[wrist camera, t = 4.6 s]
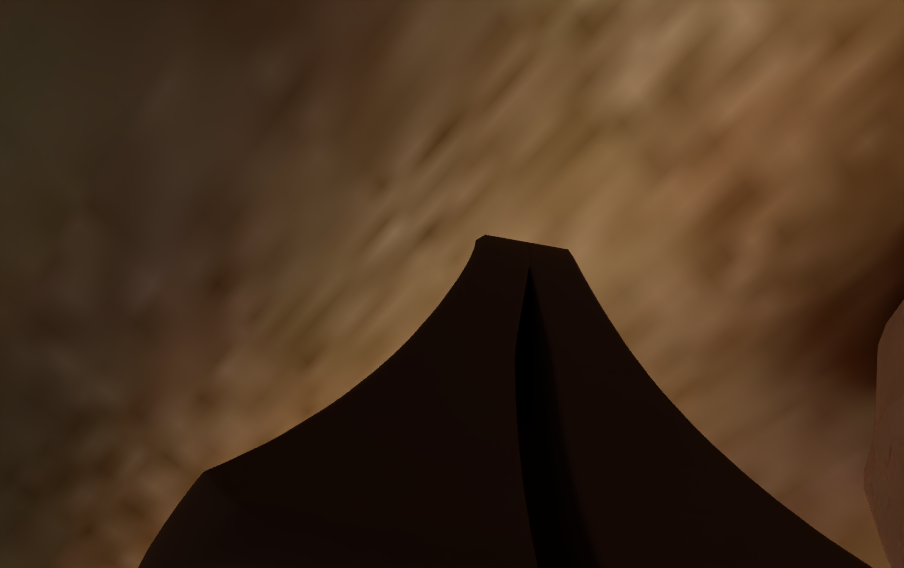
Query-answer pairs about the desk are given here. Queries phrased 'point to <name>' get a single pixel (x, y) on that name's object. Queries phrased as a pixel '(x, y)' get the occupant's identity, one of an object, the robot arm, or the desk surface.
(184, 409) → the desk surface
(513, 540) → the robot arm
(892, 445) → the ceramic sculpture
